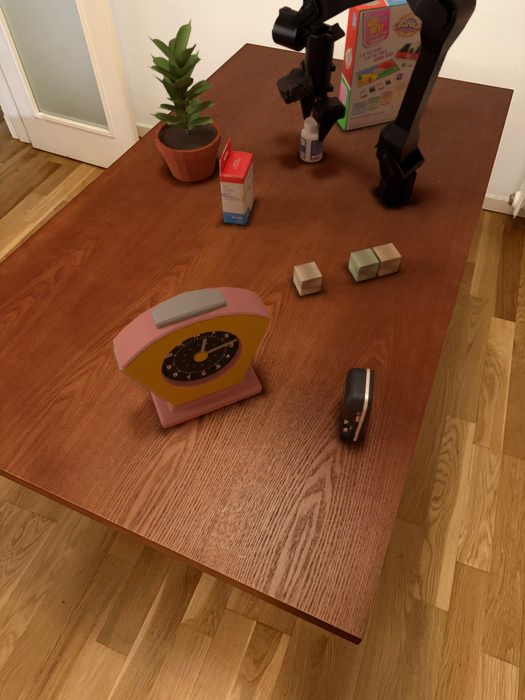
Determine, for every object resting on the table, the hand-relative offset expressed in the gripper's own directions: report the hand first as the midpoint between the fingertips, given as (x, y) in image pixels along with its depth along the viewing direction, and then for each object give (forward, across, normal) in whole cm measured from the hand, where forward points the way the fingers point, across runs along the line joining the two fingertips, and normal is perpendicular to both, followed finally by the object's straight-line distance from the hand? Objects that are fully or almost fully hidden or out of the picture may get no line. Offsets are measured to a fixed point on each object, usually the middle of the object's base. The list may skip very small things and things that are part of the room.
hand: (313, 130), depth 114 cm
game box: (+7, -10, +22) cm, 25 cm away
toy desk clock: (+7, +55, -40) cm, 68 cm away
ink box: (+7, +14, -22) cm, 27 cm away
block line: (+7, +39, -8) cm, 40 cm away
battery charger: (+7, +68, -20) cm, 71 cm away
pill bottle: (+7, 0, 0) cm, 7 cm away
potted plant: (+7, -4, -28) cm, 29 cm away
